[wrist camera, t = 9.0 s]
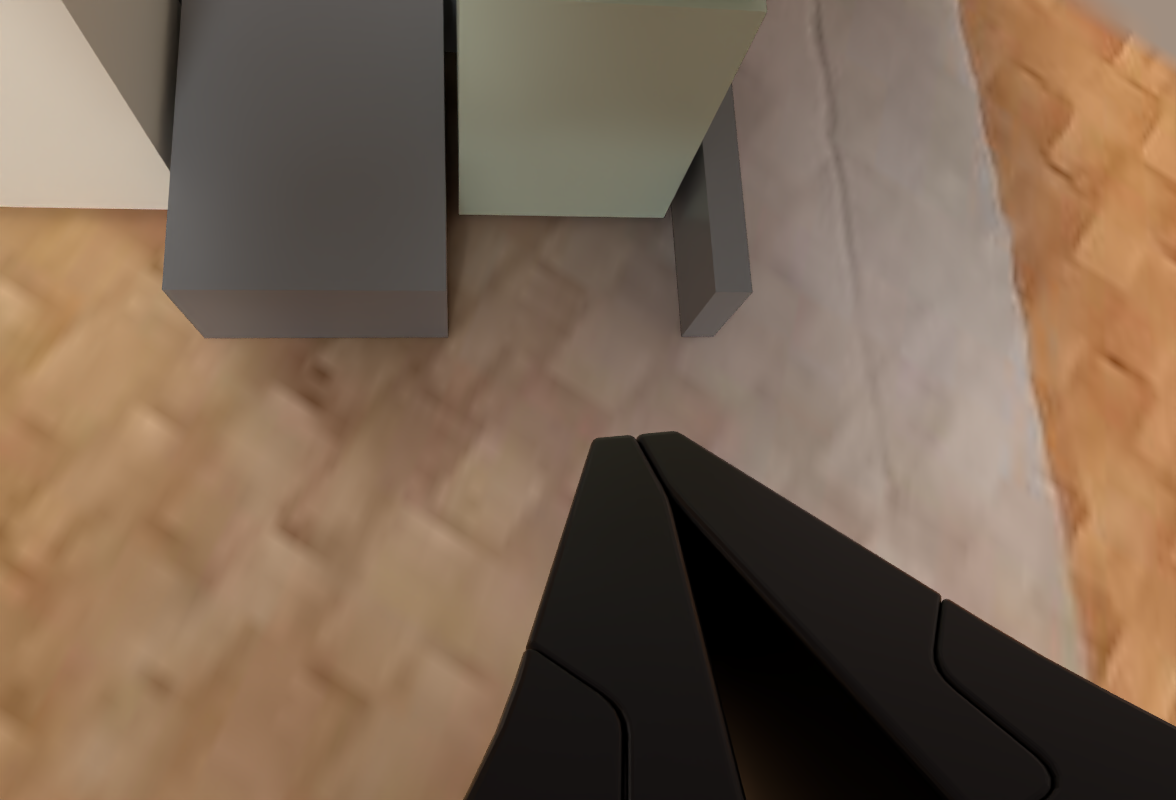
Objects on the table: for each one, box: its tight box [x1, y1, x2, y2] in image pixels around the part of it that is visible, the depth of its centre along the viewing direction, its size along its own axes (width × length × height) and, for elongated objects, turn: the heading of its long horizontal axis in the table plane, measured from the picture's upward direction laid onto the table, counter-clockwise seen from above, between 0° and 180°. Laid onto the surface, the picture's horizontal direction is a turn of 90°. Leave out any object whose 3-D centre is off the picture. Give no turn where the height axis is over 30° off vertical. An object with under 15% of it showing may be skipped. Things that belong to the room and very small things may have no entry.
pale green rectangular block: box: [456, 0, 767, 218], centre depth 18 cm, size 4×5×8 cm
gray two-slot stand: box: [162, 0, 752, 338], centre depth 20 cm, size 9×18×3 cm, turn 93°
